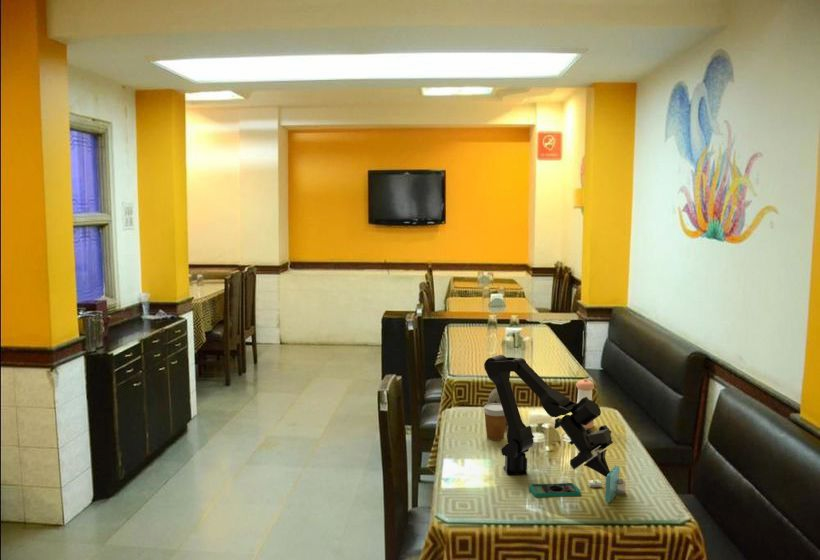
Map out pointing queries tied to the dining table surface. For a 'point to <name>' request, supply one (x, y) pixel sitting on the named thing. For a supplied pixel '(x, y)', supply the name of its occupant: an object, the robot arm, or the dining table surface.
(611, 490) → the light blue tilted panel
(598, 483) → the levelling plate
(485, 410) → the disposable coffee cup
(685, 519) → the dining table surface
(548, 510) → the dining table surface
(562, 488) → the digital multimeter
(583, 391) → the pepper shaker
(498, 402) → the decorative egg
